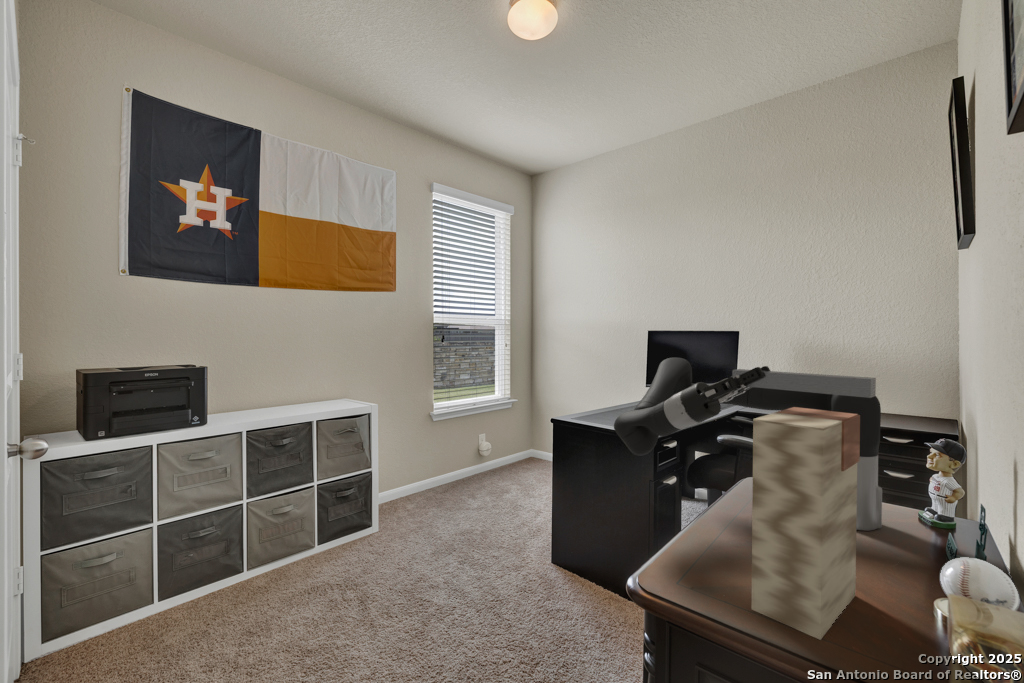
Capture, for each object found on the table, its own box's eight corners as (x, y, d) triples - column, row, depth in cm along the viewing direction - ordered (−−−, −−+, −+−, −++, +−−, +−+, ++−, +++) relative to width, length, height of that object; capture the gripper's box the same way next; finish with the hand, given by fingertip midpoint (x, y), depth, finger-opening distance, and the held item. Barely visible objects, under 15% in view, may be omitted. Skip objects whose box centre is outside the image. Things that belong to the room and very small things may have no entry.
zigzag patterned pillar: (751, 609, 77) (753, 418, 76) (792, 572, 89) (794, 406, 88) (822, 641, 69) (825, 428, 68) (857, 596, 81) (860, 414, 80)
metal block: (732, 385, 91) (732, 370, 91) (739, 384, 93) (739, 369, 93) (870, 397, 74) (870, 379, 74) (875, 396, 76) (875, 377, 76)
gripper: (715, 418, 102) (790, 386, 91) (681, 427, 93) (760, 392, 82) (699, 387, 105) (770, 352, 93) (665, 393, 96) (739, 354, 84)
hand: (765, 371), depth 88 cm, fingers closed on metal block, 3 cm apart
